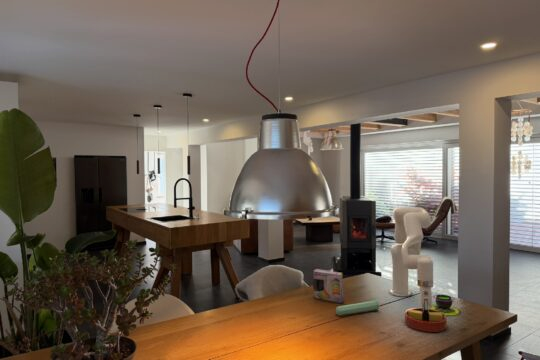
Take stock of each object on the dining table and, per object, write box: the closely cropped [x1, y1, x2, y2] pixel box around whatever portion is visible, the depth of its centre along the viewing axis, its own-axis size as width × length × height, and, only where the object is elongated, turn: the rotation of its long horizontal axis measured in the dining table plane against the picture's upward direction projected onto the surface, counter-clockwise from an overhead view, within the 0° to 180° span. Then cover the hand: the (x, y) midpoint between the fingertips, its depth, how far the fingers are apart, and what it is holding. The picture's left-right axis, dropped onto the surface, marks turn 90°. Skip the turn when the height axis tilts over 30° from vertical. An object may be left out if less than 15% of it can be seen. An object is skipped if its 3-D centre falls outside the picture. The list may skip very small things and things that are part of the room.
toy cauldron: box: [429, 291, 460, 316], centre depth 209 cm, size 15×15×11 cm
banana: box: [409, 310, 443, 321], centre depth 191 cm, size 5×16×3 cm, turn 71°
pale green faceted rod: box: [335, 299, 380, 317], centre depth 208 cm, size 6×6×25 cm
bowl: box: [404, 307, 448, 333], centre depth 190 cm, size 20×20×5 cm
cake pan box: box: [312, 268, 345, 304], centre depth 229 cm, size 19×5×18 cm, turn 53°
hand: (425, 318), depth 190 cm, fingers closed on banana, 3 cm apart
